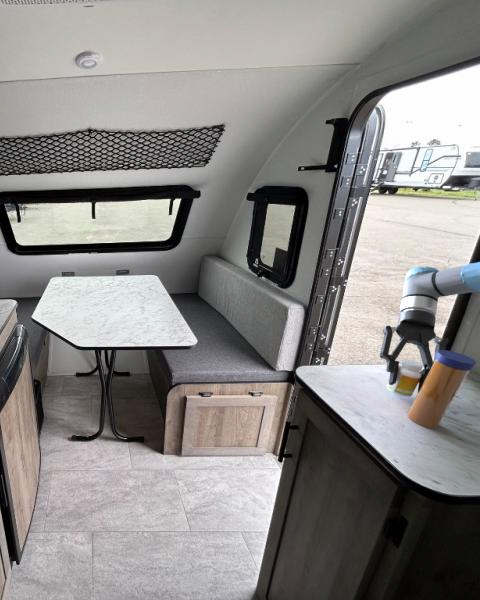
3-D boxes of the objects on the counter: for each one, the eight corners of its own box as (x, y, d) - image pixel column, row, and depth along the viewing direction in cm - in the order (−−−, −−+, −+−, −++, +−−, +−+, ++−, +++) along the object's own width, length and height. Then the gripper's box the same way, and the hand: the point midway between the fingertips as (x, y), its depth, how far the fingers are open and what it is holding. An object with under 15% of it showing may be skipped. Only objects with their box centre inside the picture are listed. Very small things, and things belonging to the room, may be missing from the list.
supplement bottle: (416, 397, 91) (432, 367, 88) (401, 398, 90) (416, 368, 87) (396, 385, 96) (410, 357, 92) (381, 386, 95) (395, 357, 92)
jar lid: (467, 362, 78) (470, 355, 77) (477, 373, 73) (481, 367, 72) (431, 353, 81) (434, 347, 80) (438, 364, 76) (442, 357, 76)
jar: (433, 419, 84) (467, 357, 77) (440, 431, 80) (477, 367, 73) (404, 410, 87) (435, 350, 80) (409, 422, 82) (442, 359, 76)
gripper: (453, 328, 94) (446, 404, 87) (372, 312, 104) (359, 379, 97) (469, 318, 88) (462, 398, 81) (381, 301, 97) (369, 371, 91)
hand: (406, 387), depth 89 cm, fingers closed on supplement bottle, 5 cm apart
